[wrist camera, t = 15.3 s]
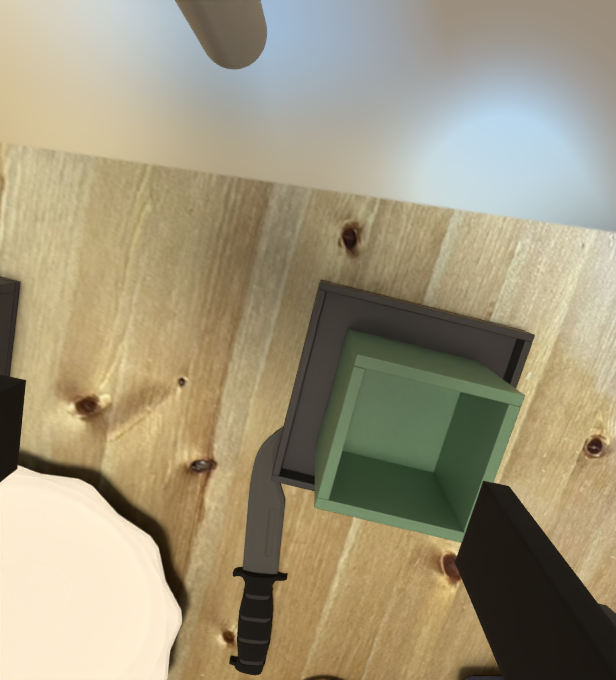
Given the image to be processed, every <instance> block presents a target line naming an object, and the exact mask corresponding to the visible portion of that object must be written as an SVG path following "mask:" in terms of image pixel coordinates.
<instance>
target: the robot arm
mask: <svg viewBox="0 0 616 680" xmlns="http://www.w3.org/2000/svg"><path fill="white" fill-rule="evenodd" d="M25 384H26V380H22V379H18V378H13V377H9V376H4V375H0V482H1V481H3V480H4V479H5V478H6V477H8V476H9V475H10V474H12V473H13V472H14V471H15V470H17V469H18V458H19V448H20V437H21V426H22V416H23V405H24V395H25ZM455 564H456V566H457V568H458V571H459V573H460V576H461V578H462V580H463V583H464V585H465V587H466V590H467V592H468V595H469V597H470V599H471V602H472V604H473V607H474V609H475V611H476V614H477V616H478V619H479V621H480V623H481V626H482V628H483V631H484V633H485V635H486V638H487V640H488V643H489V645H490V647H491V650H492V652H493V655H494V657H495V659H496V662H497V664H498V666H499V669H500V671H501V674H502V676H503V678H504V680H616V613H615V612H613V611H612V610H611V609H610V608H609V607H608V606H606V605H602V604H598V603H597V602H596V600H595V599H594V598H593V596H592V595H591V594H590V592H589V591H588V590H587V588H586V587H585V586H584V584H583V583H582V582H581V580H580V579H579V578H578V577H577V575H576V574H575V573H574V571H573V570H572V569H571V567H570V566H569V565H568V563H567V562H566V561H565V559H564V558H563V557H562V555H561V554H560V553H559V551H558V550H557V549H556V548H555V546H554V545H553V544H552V542H551V541H550V540H549V538H548V537H547V536H546V534H545V533H544V532H543V530H542V529H541V528H540V526H539V525H538V524H537V522H536V521H535V520H534V519H533V517H532V516H531V515H530V513H529V512H528V511H527V509H526V508H525V507H524V505H523V504H522V503H521V501H520V500H519V499H518V497H517V496H516V495H515V493H514V492H513V491H512V490H511V488H510V487H509V486H506V485H501V484H496V483H492V482H487V481H483V482H482V485H481V488H480V491H479V494H478V497H477V500H476V503H475V506H474V509H473V512H472V514H471V517H470V520H469V523H468V526H467V529H466V532H465V535H464V538H463V541H462V544H461V547H460V549H459V552H458V555H457V558H456V561H455Z"/></svg>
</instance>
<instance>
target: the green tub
mask: <svg viewBox="0 0 616 680" xmlns="http://www.w3.org/2000/svg"><path fill="white" fill-rule="evenodd" d="M524 397H525V395H523V394H522V393H521V392H519V391H518V390H517V389H515V388H514V387H513V386H511V385H510V384H509V383H507V382H506V381H504V380H503V379H502V378H500V377H499V376H498V375H496V374H495V373H494V372H492V371H491V370H490V369H488V368H487V367H485V366H484V365H483V364H481V363H480V362H479V361H477V360H473V359H469V358H465V357H461V356H457V355H453V354H449V353H445V352H441V351H437V350H433V349H429V348H425V347H421V346H417V345H413V344H409V343H405V342H401V341H397V340H393V339H389V338H385V337H381V336H377V335H373V334H369V333H365V332H361V331H357V330H353V329H348V331H347V335H346V338H345V342H344V346H343V349H342V353H341V357H340V360H339V364H338V368H337V372H336V375H335V379H334V383H333V386H332V390H331V394H330V397H329V401H328V405H327V409H326V412H325V416H324V420H323V423H322V427H321V431H320V434H319V438H318V442H317V446H316V449H315V503H314V507H315V508H318V509H322V510H326V511H330V512H335V513H339V514H343V515H347V516H351V517H356V518H360V519H364V520H368V521H372V522H377V523H381V524H385V525H389V526H394V527H398V528H402V529H406V530H410V531H415V532H419V533H423V534H427V535H431V536H436V537H440V538H444V539H448V540H453V541H457V542H461V543H462V541H463V538H464V535H465V532H466V529H467V526H468V523H469V520H470V517H471V514H472V512H473V509H474V506H475V503H476V500H477V497H478V494H479V491H480V488H481V485H482V482H483V481H487V482H492V483H494V480H495V477H496V474H497V471H498V469H499V466H500V463H501V460H502V458H503V455H504V452H505V449H506V447H507V444H508V441H509V438H510V435H511V433H512V430H513V427H514V424H515V422H516V419H517V416H518V413H519V411H520V407H521V405H522V402H523V400H524Z"/></svg>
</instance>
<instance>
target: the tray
mask: <svg viewBox="0 0 616 680" xmlns="http://www.w3.org/2000/svg"><path fill="white" fill-rule="evenodd" d="M348 329H353V330H357V331H361V332H365V333H369V334H373V335H377V336H381V337H385V338H389V339H393V340H397V341H401V342H405V343H409V344H413V345H417V346H421V347H425V348H429V349H433V350H437V351H441V352H445V353H449V354H453V355H457V356H461V357H465V358H469V359H473V360H477V361H479V362H480V363H481V364H483V365H484V366H485V367H487V368H488V369H490V370H491V371H492V372H494V373H495V374H496V375H498V376H499V377H500V378H502V379H503V380H504V381H506V382H507V383H509V384H510V385H511V386H513V387H514V388H515V389H516V387H517V384H518V382H519V379H520V376H521V373H522V370H523V367H524V365H525V362H526V359H527V356H528V353H529V351H530V348H531V345H532V342H533V339H534V336H535V335H533V334H531V333H529V332H526V331H524V330H520V329H516V328H512V327H508V326H504V325H500V324H496V323H492V322H488V321H484V320H480V319H476V318H472V317H468V316H464V315H460V314H456V313H452V312H448V311H444V310H440V309H436V308H432V307H428V306H424V305H420V304H416V303H412V302H408V301H404V300H400V299H396V298H392V297H388V296H384V295H380V294H376V293H372V292H368V291H364V290H360V289H356V288H352V287H348V286H344V285H340V284H336V283H332V282H328V281H324V280H320V283H319V287H318V291H317V295H316V299H315V303H314V307H313V311H312V315H311V319H310V323H309V327H308V331H307V335H306V339H305V343H304V347H303V351H302V355H301V359H300V363H299V367H298V371H297V375H296V379H295V383H294V387H293V391H292V395H291V399H290V403H289V407H288V411H287V415H286V419H285V423H284V428H283V432H282V436H281V440H280V443H279V447H278V451H277V455H276V460H275V464H274V468H273V472H272V477H271V481H274V482H278V483H283V484H287V485H291V486H295V487H299V488H304V489H308V490H312V491H315V449H316V446H317V442H318V438H319V434H320V431H321V427H322V423H323V420H324V416H325V412H326V409H327V405H328V401H329V397H330V394H331V390H332V386H333V383H334V379H335V375H336V372H337V368H338V364H339V360H340V357H341V353H342V349H343V346H344V342H345V338H346V335H347V331H348Z"/></svg>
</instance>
